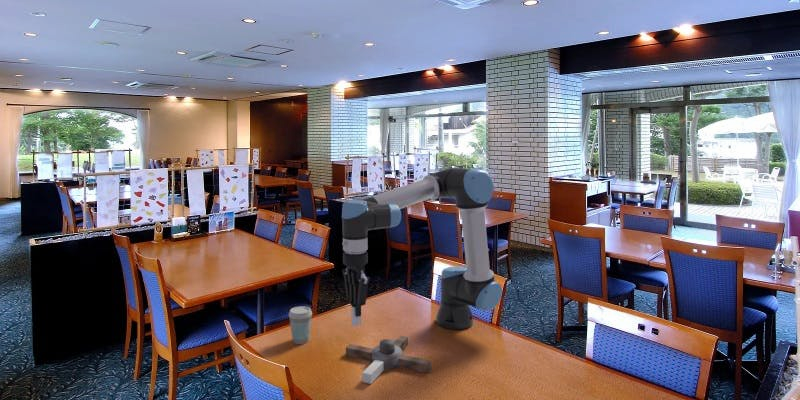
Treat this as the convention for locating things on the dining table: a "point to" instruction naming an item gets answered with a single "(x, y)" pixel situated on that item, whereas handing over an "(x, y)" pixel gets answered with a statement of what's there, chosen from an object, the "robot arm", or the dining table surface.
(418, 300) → the dining table surface
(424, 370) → the stool base
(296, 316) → the coffee cup
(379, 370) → the folding leg
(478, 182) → the robot arm
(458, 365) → the dining table surface
